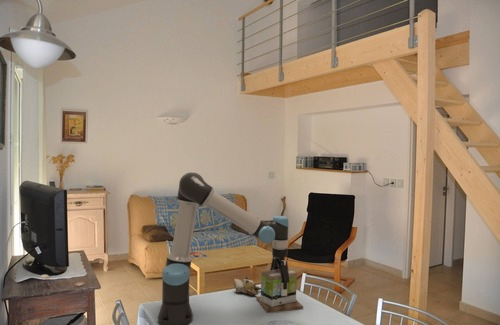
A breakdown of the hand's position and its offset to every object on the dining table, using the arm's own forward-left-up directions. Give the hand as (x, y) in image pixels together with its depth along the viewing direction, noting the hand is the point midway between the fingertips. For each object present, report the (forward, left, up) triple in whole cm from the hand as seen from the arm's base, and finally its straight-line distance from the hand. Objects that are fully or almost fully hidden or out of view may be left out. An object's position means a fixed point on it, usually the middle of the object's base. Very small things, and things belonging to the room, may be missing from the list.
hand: (279, 290), depth 197 cm
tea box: (0, 0, -5) cm, 5 cm away
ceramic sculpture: (-11, +19, -7) cm, 23 cm away
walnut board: (0, 0, -7) cm, 7 cm away
